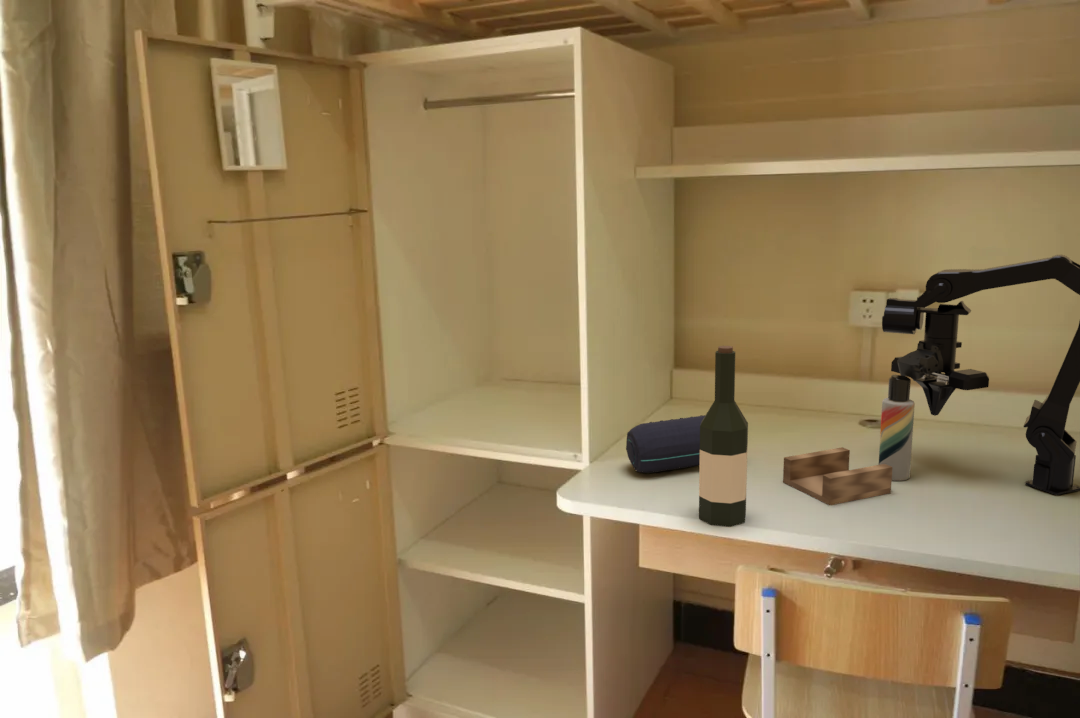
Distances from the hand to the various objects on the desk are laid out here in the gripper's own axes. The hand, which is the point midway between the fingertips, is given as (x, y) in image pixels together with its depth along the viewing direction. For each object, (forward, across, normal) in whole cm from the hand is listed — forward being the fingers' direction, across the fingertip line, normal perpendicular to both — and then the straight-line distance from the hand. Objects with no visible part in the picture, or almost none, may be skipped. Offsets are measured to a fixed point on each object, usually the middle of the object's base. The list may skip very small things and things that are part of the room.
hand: (934, 414), depth 161 cm
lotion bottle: (+11, 0, -10) cm, 15 cm away
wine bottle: (+11, +4, -50) cm, 52 cm away
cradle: (+11, 0, -24) cm, 26 cm away
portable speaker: (+12, -23, -43) cm, 50 cm away
